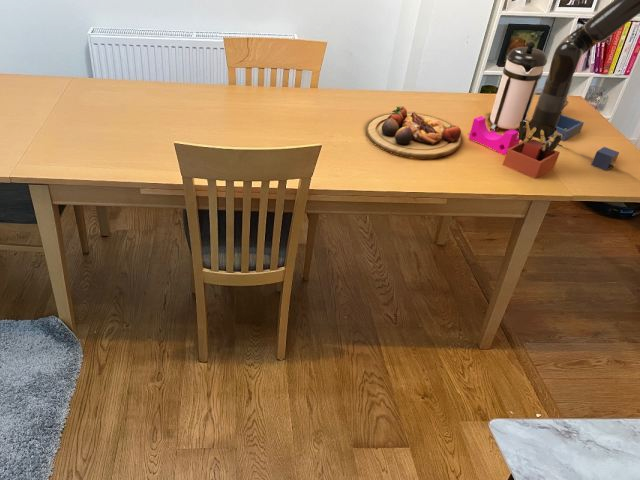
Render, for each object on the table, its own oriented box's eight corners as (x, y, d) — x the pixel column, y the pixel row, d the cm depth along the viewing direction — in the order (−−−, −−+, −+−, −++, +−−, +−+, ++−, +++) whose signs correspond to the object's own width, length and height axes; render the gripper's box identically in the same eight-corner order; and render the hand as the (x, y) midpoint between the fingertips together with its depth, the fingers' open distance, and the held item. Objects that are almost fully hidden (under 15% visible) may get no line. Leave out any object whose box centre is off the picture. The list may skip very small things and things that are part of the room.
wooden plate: (475, 136, 206) (481, 114, 200) (434, 170, 187) (440, 146, 181) (394, 111, 221) (398, 89, 216) (349, 140, 202) (352, 117, 197)
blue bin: (578, 137, 207) (584, 122, 204) (561, 146, 202) (567, 131, 198) (547, 125, 214) (553, 111, 210) (530, 134, 208) (536, 119, 205)
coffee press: (537, 131, 210) (568, 45, 191) (505, 139, 205) (533, 52, 185) (502, 112, 222) (527, 30, 203) (470, 120, 216) (493, 35, 197)
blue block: (613, 166, 192) (619, 152, 188) (605, 170, 189) (612, 156, 186) (598, 160, 194) (604, 146, 191) (590, 164, 192) (597, 151, 189)
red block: (542, 158, 188) (547, 144, 185) (534, 163, 186) (539, 149, 182) (528, 153, 191) (533, 138, 188) (519, 157, 189) (524, 143, 185)
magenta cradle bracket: (516, 150, 198) (523, 130, 194) (505, 155, 196) (512, 134, 191) (479, 134, 207) (485, 114, 203) (468, 139, 204) (474, 118, 200)
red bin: (553, 167, 190) (559, 152, 186) (535, 179, 184) (541, 163, 180) (521, 154, 197) (526, 139, 193) (502, 164, 191) (507, 149, 187)
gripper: (521, 101, 179) (505, 152, 190) (565, 117, 171) (546, 169, 182) (534, 95, 183) (517, 145, 194) (578, 111, 175) (558, 162, 186)
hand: (531, 157), depth 188 cm, fingers closed on red block, 5 cm apart
